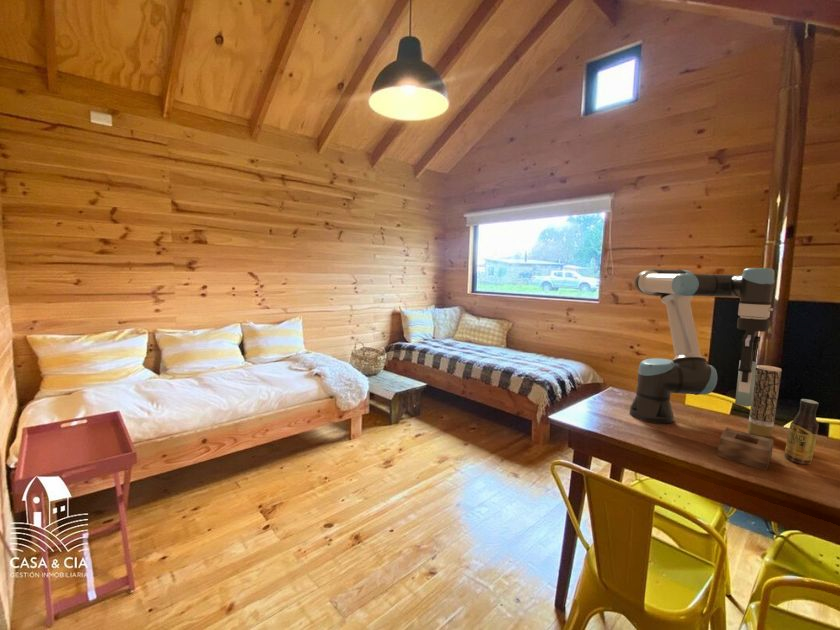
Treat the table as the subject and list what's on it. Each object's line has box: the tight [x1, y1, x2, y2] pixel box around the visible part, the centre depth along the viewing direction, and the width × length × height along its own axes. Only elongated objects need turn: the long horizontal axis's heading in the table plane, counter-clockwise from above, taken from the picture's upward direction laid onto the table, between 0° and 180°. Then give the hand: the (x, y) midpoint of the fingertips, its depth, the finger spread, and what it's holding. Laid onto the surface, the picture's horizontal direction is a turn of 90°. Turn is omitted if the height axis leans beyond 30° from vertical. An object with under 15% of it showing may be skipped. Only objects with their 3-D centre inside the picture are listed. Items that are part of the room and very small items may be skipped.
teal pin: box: [734, 359, 757, 408], centre depth 123 cm, size 4×4×14 cm
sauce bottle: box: [784, 398, 820, 465], centre depth 121 cm, size 6×6×20 cm
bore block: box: [716, 427, 775, 471], centre depth 123 cm, size 12×12×6 cm
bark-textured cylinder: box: [747, 364, 783, 438], centre depth 140 cm, size 7×7×25 cm
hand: (745, 390), depth 123 cm, fingers closed on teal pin, 4 cm apart
